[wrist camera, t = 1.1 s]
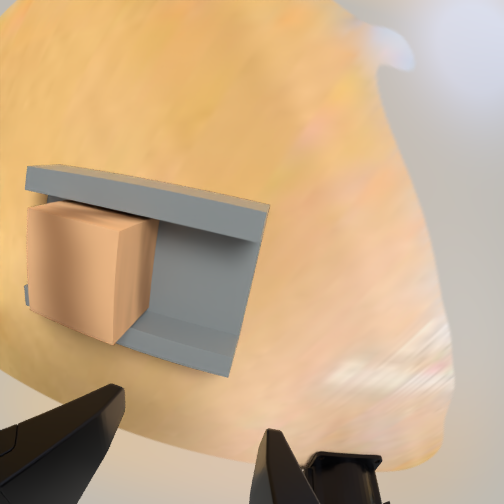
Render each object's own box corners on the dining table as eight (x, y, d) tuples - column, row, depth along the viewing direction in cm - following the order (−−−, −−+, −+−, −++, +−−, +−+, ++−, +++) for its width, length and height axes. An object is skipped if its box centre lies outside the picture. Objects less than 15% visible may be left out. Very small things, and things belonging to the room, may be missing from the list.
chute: (270, 204, 18) (267, 212, 15) (236, 347, 21) (228, 377, 17) (59, 164, 19) (27, 166, 15) (53, 288, 21) (25, 304, 18)
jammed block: (160, 215, 18) (119, 231, 13) (148, 307, 19) (112, 345, 14) (79, 197, 18) (27, 207, 13) (74, 282, 20) (29, 309, 15)
